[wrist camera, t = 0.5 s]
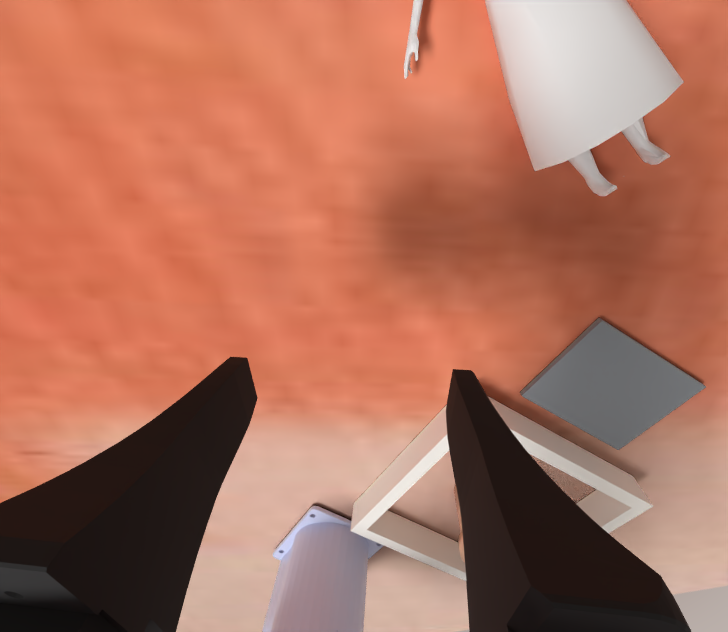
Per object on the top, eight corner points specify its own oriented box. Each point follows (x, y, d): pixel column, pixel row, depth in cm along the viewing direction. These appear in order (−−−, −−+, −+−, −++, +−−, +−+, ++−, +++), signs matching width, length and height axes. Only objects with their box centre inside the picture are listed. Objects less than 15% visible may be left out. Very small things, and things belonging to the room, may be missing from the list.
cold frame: (496, 567, 35) (503, 597, 32) (353, 503, 32) (350, 531, 30) (633, 476, 28) (653, 506, 25) (465, 384, 25) (472, 408, 23)
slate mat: (615, 445, 26) (618, 450, 26) (519, 392, 25) (521, 395, 25) (701, 383, 23) (706, 386, 23) (598, 317, 22) (602, 320, 22)
